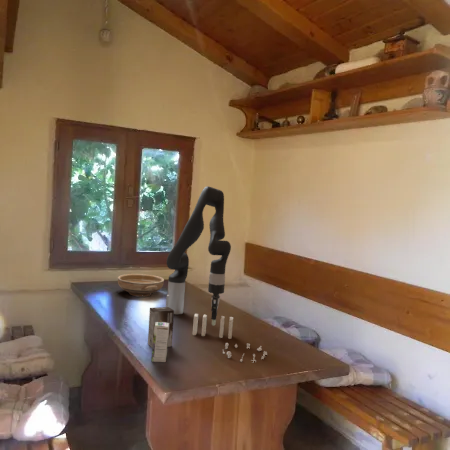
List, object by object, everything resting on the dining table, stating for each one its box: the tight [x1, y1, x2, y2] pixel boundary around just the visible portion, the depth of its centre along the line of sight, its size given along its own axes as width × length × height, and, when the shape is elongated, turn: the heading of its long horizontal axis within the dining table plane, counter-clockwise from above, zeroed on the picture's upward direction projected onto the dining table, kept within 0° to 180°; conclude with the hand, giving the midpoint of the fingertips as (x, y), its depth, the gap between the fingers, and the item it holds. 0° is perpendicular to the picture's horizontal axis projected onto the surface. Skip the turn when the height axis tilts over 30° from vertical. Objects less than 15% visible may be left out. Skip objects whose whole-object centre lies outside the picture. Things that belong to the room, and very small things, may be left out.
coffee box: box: [147, 306, 175, 348], centre depth 208 cm, size 9×6×16 cm
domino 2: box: [201, 313, 208, 337], centre depth 229 cm, size 2×5×9 cm, turn 177°
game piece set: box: [222, 342, 268, 363], centre depth 206 cm, size 19×20×4 cm
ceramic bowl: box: [117, 273, 165, 297], centre depth 299 cm, size 37×29×10 cm
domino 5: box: [227, 316, 234, 340], centre depth 228 cm, size 2×5×9 cm, turn 177°
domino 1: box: [192, 313, 199, 336], centre depth 229 cm, size 2×5×9 cm, turn 177°
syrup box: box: [151, 322, 169, 363], centre depth 191 cm, size 6×6×14 cm
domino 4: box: [218, 315, 225, 339], centre depth 228 cm, size 2×5×9 cm, turn 177°
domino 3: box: [211, 307, 217, 326], centre depth 228 cm, size 2×5×9 cm, turn 178°
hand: (214, 317), depth 228 cm, fingers closed on domino 3, 5 cm apart
